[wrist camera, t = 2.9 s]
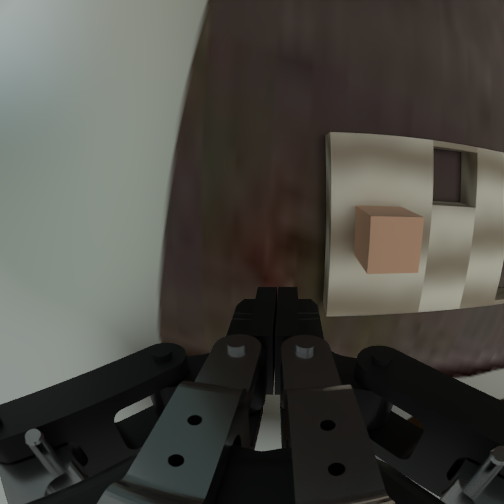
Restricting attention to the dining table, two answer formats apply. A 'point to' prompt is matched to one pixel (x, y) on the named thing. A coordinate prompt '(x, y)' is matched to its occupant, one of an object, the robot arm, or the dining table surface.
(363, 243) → the block
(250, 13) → the dining table surface
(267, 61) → the dining table surface
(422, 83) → the dining table surface
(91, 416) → the robot arm
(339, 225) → the checkered shape sorter board
